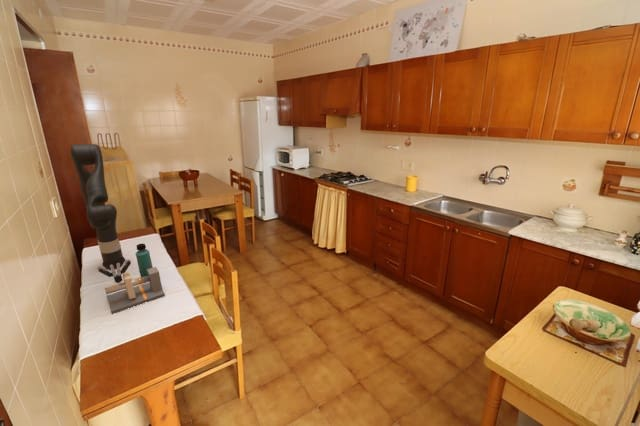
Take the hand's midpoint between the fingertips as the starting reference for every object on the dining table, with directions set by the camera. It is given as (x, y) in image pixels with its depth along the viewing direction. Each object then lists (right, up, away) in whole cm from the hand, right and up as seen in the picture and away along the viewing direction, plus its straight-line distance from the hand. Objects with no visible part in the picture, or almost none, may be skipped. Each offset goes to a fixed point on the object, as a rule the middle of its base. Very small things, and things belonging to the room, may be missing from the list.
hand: (118, 282), depth 140 cm
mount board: (+3, -9, +6) cm, 11 cm away
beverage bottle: (+1, -3, +22) cm, 23 cm away
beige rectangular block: (+3, -7, +5) cm, 9 cm away
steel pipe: (+3, -3, +4) cm, 6 cm away
